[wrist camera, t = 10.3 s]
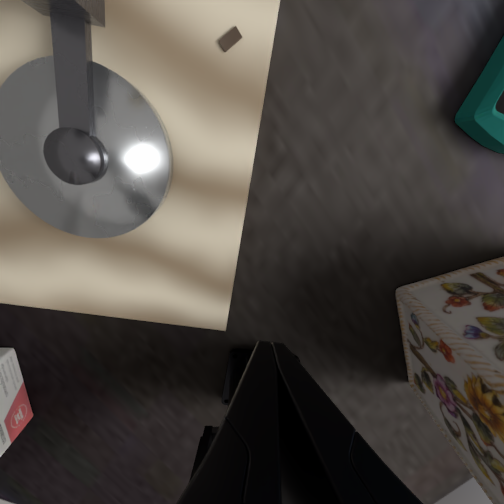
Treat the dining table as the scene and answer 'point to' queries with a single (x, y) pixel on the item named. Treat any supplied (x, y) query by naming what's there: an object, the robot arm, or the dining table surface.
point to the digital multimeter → (486, 105)
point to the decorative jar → (461, 362)
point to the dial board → (184, 161)
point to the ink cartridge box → (12, 399)
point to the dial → (81, 134)
